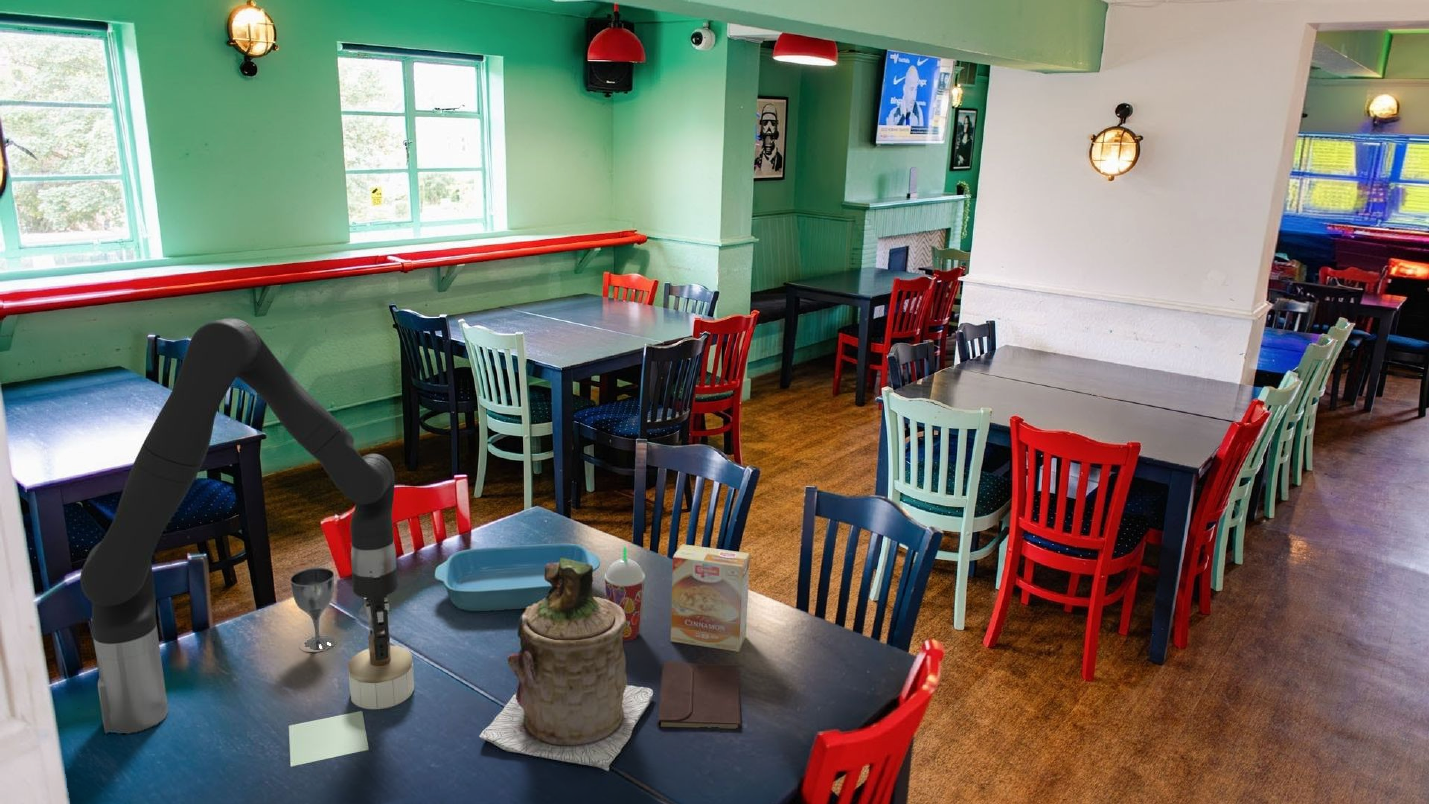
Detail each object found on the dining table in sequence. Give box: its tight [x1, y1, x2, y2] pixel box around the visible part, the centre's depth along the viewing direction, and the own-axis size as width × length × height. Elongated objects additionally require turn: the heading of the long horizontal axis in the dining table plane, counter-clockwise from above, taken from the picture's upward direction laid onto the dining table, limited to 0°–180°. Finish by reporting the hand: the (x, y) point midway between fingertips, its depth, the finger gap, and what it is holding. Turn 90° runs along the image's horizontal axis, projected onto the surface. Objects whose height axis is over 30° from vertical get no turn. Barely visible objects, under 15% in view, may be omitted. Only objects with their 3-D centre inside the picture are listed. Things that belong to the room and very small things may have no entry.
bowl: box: [348, 662, 415, 710], centre depth 175 cm, size 11×11×6 cm
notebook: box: [656, 661, 742, 729], centre depth 179 cm, size 15×20×2 cm
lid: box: [348, 630, 413, 683], centre depth 173 cm, size 11×11×6 cm
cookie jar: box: [479, 558, 654, 772], centre depth 166 cm, size 25×25×32 cm
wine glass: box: [290, 567, 338, 650], centre depth 190 cm, size 8×8×15 cm
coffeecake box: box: [670, 543, 751, 653], centre depth 197 cm, size 15×7×20 cm, turn 76°
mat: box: [288, 710, 369, 768], centre depth 162 cm, size 12×12×1 cm
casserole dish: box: [434, 543, 601, 612], centre depth 216 cm, size 37×22×7 cm, turn 102°
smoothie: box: [604, 546, 646, 642], centre depth 197 cm, size 8×8×20 cm
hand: (379, 647), depth 173 cm, fingers open, 8 cm apart
